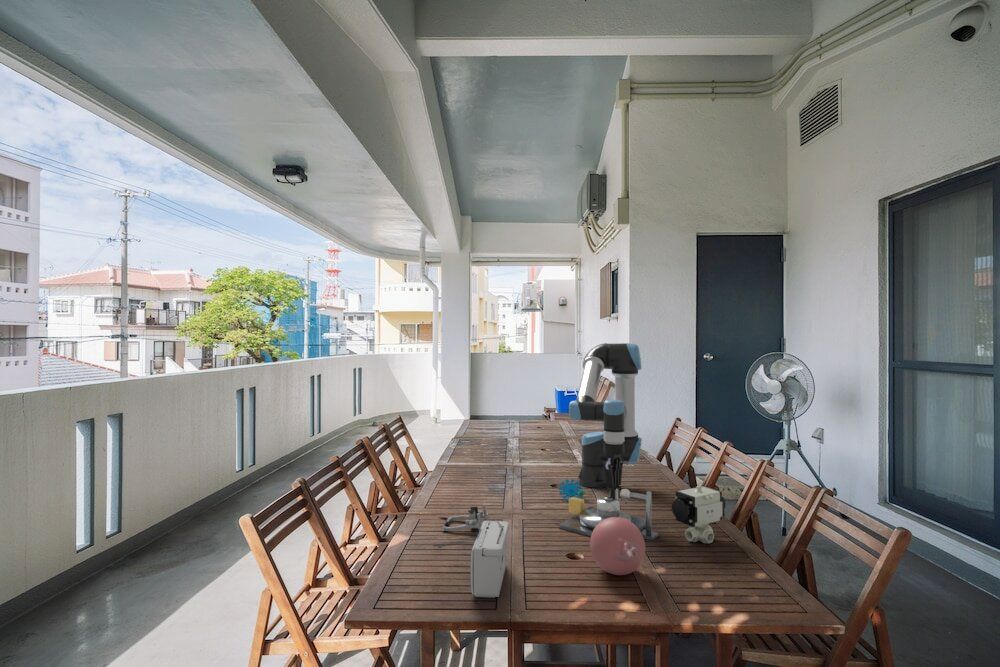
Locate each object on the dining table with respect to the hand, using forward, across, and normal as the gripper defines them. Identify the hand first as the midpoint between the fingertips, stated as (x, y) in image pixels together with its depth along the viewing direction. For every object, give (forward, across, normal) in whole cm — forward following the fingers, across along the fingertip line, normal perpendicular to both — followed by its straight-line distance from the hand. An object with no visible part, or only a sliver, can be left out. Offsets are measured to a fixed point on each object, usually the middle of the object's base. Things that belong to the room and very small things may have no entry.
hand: (613, 506), depth 187 cm
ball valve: (+5, 0, +31) cm, 31 cm away
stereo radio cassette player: (+5, +64, -7) cm, 65 cm away
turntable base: (+5, +7, 0) cm, 9 cm away
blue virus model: (+5, -12, -24) cm, 28 cm away
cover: (+2, +5, 0) cm, 5 cm away
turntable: (+4, +7, -3) cm, 9 cm away
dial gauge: (+5, +7, +12) cm, 15 cm away
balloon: (+5, +40, +20) cm, 45 cm away
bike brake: (+6, +39, -41) cm, 57 cm away
